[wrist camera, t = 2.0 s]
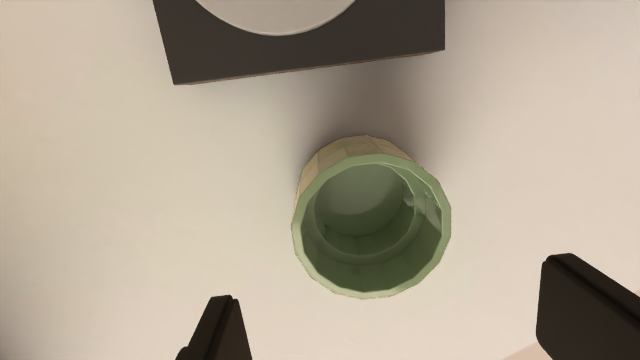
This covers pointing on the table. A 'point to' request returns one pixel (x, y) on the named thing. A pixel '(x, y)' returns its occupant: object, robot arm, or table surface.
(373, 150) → the green cup
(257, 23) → the scale
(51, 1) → the table surface
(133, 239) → the table surface
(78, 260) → the table surface
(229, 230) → the table surface
